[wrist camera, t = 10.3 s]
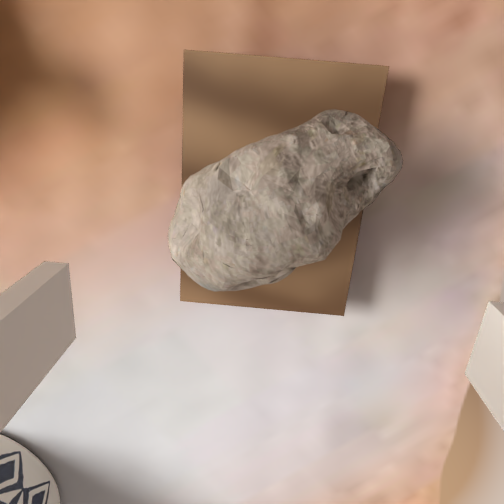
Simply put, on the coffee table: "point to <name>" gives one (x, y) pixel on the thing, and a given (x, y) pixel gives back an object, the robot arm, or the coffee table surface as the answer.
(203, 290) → the stand
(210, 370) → the coffee table surface
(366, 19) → the coffee table surface
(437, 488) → the coffee table surface
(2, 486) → the planter
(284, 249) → the stone
